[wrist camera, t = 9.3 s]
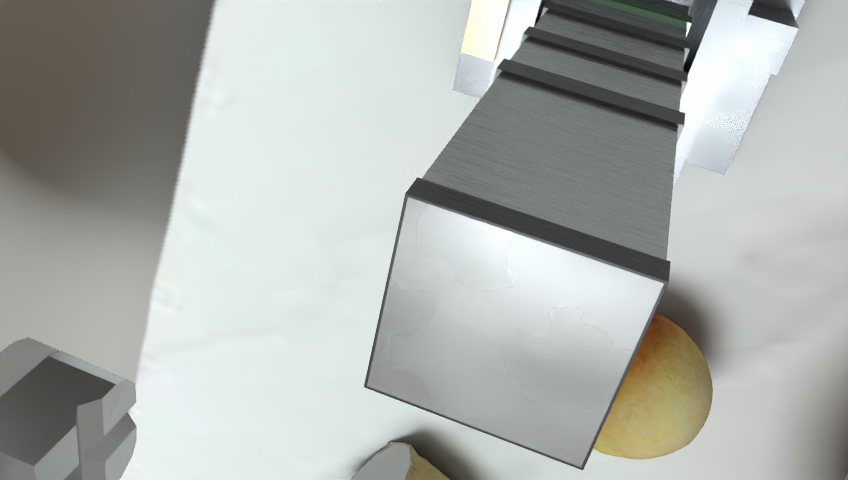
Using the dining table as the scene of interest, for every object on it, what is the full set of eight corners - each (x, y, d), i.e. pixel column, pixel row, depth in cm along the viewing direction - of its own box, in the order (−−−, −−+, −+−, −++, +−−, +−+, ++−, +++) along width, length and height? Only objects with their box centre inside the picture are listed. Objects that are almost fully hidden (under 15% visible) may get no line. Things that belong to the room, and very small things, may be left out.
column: (571, -30, 27) (403, 189, 12) (693, 4, 26) (673, 280, 11) (538, 84, 29) (361, 388, 14) (648, 118, 29) (584, 473, 14)
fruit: (566, 382, 49) (543, 474, 42) (588, 269, 45) (566, 352, 38) (692, 412, 47) (689, 514, 40) (727, 298, 43) (731, 391, 36)
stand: (531, -221, 34) (455, -228, 24) (862, -141, 32) (936, -109, 22) (460, 80, 42) (378, 175, 31) (724, 162, 39) (730, 293, 29)
